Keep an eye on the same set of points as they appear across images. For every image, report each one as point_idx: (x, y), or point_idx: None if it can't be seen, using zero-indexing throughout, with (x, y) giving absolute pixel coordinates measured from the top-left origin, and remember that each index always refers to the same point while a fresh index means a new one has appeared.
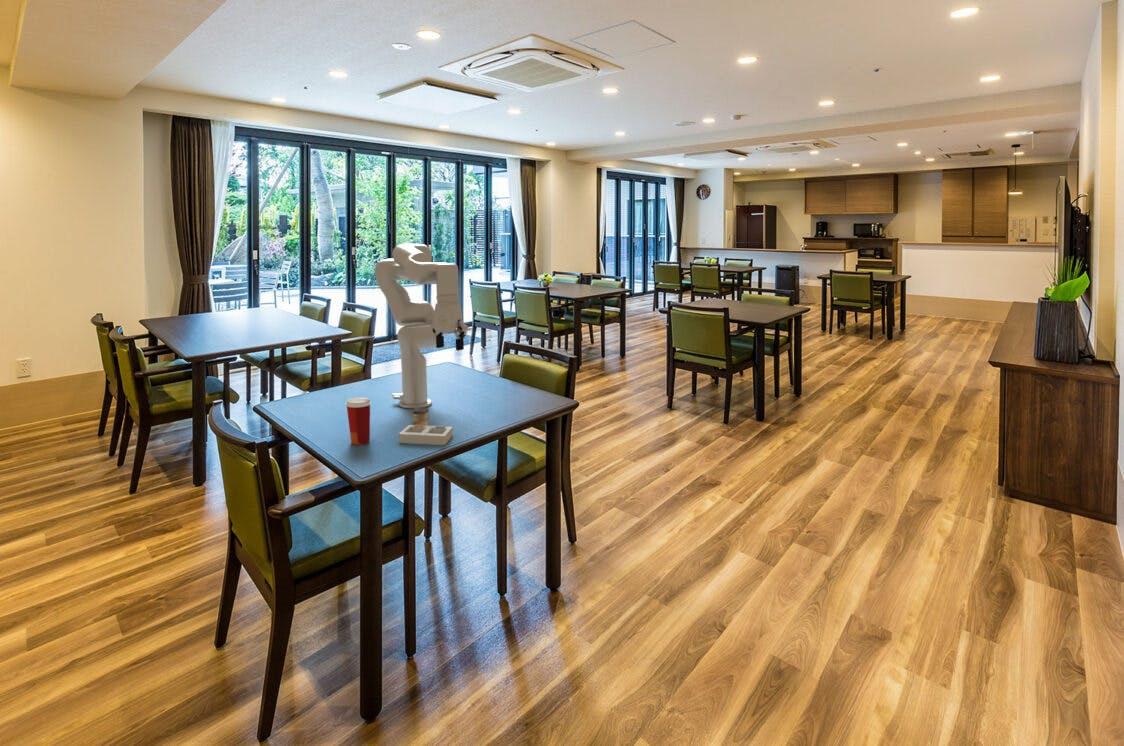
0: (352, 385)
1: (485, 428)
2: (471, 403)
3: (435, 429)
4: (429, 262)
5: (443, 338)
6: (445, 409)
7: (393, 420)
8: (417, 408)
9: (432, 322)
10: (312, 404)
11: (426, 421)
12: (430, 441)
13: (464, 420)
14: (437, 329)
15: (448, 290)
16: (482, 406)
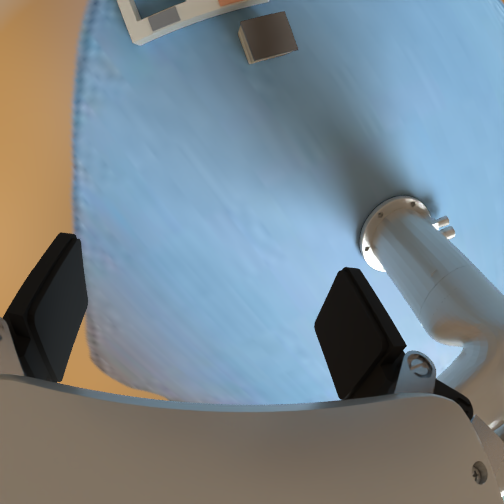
0: None
1: (101, 145)
2: (272, 303)
3: (174, 6)
4: None
5: (336, 383)
6: (306, 234)
7: (380, 88)
8: (290, 43)
9: (497, 471)
10: None
11: (244, 44)
12: None
13: (195, 173)
14: (414, 426)
15: None
16: (232, 296)
